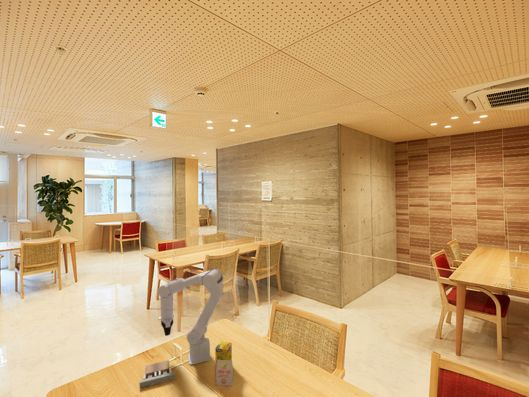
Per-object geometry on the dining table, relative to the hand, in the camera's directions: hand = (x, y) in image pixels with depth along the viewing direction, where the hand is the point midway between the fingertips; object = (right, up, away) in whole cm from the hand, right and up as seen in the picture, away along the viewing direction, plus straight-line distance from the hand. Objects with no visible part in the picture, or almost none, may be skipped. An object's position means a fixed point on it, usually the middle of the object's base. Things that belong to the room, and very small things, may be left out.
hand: (167, 334), depth 135 cm
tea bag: (+31, -11, -19) cm, 38 cm away
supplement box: (+29, -11, -10) cm, 33 cm away
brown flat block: (0, -11, -14) cm, 17 cm away
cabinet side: (+2, -11, -17) cm, 20 cm away
